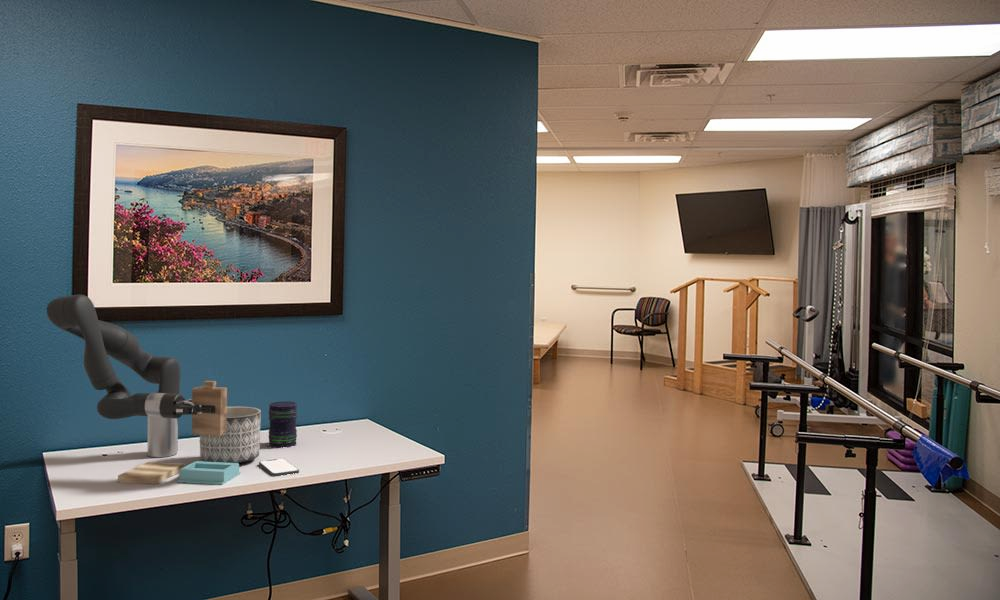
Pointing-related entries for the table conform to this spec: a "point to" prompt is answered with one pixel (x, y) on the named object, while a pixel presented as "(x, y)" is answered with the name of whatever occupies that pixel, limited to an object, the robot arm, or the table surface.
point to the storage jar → (282, 424)
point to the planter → (234, 438)
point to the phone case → (278, 467)
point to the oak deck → (150, 473)
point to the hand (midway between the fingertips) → (218, 408)
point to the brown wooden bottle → (210, 421)
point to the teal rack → (208, 472)
